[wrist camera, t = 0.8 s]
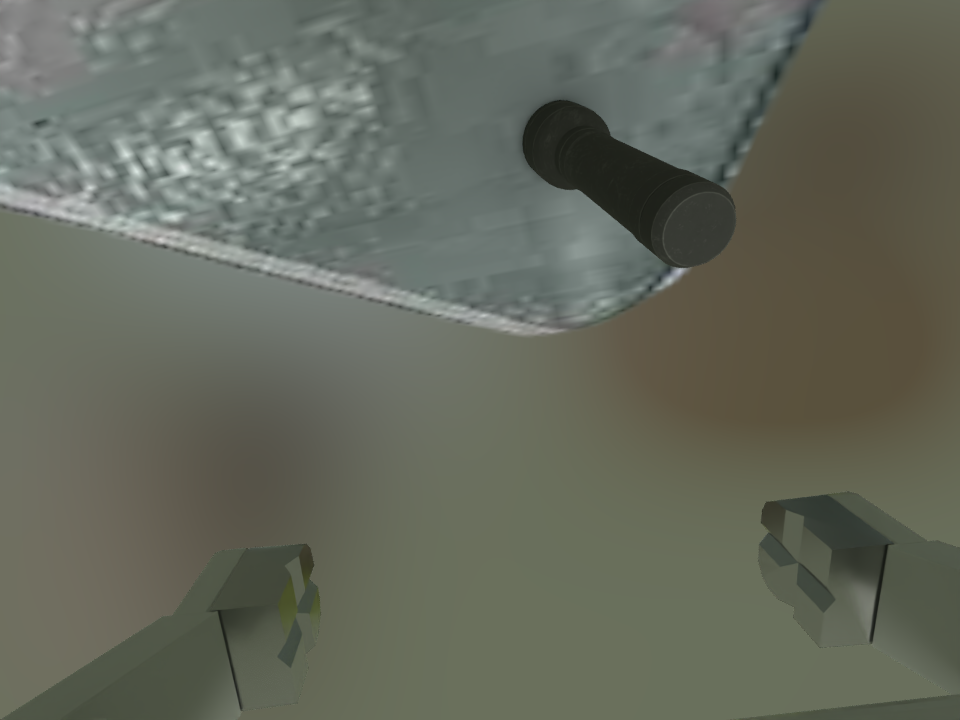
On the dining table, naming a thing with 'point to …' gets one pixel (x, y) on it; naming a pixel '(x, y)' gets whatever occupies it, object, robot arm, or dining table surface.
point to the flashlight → (630, 185)
